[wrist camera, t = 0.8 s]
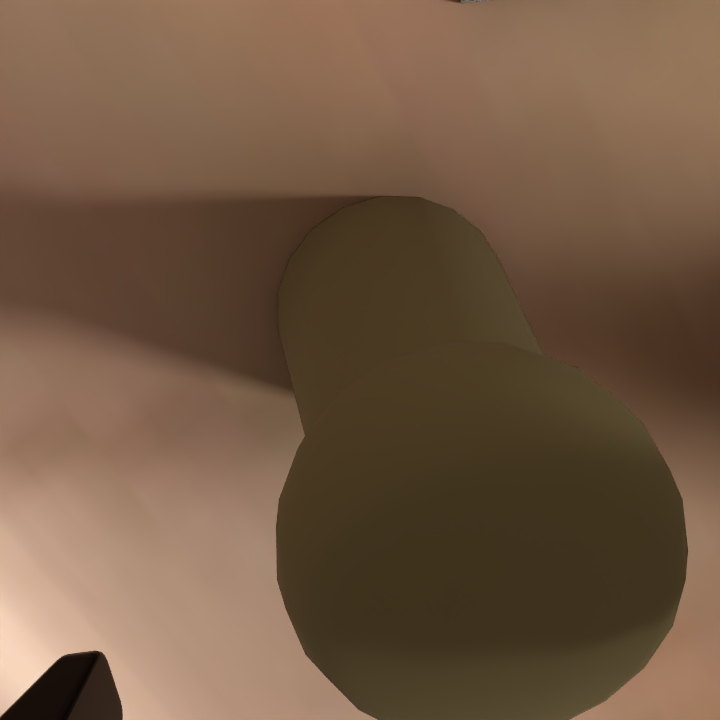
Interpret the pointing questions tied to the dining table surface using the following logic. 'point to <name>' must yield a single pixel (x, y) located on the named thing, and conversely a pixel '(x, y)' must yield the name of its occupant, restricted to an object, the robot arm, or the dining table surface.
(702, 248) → the dining table surface
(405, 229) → the brown pawn
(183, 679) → the dining table surface
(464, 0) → the tray
